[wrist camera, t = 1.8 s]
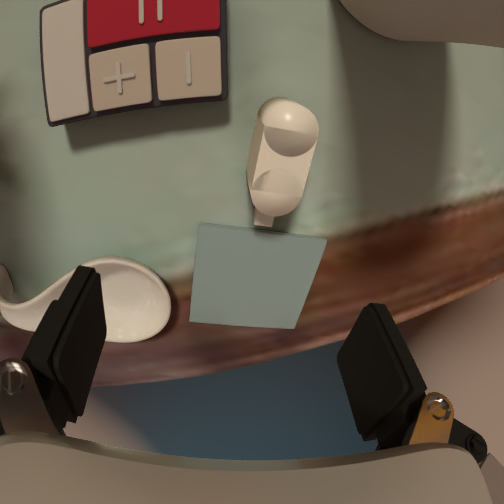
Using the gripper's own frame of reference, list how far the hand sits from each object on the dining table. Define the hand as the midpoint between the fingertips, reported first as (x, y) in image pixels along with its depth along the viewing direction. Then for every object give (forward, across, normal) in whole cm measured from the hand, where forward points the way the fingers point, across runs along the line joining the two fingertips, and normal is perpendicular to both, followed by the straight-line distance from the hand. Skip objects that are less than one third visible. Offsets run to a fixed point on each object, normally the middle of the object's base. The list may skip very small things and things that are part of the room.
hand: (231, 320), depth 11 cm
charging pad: (+20, -5, +13) cm, 24 cm away
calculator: (+20, +10, -9) cm, 24 cm away
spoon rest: (+20, +15, +17) cm, 30 cm away
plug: (+20, -4, -2) cm, 20 cm away
